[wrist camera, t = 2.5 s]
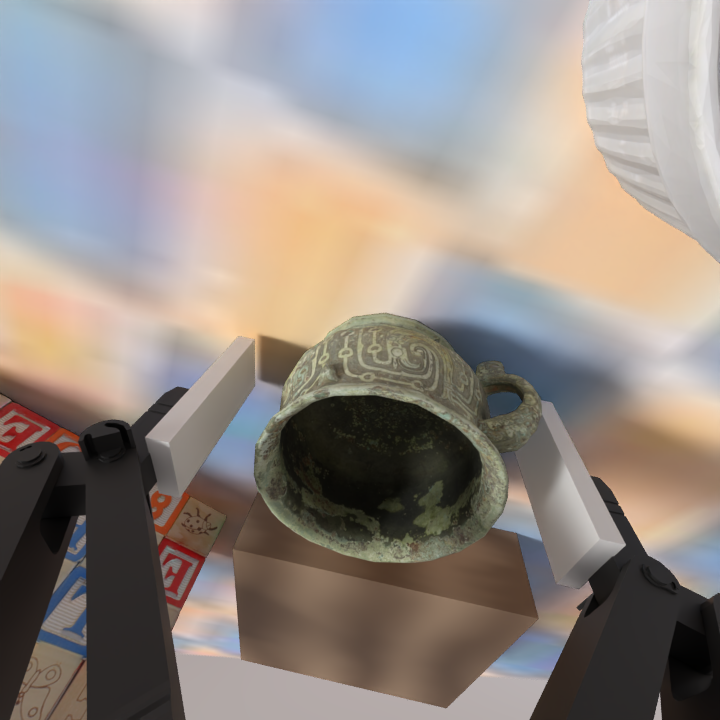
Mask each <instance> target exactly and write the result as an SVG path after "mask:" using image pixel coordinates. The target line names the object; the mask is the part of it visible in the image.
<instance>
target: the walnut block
mask: <svg viewBox="0 0 720 720" xmlns="http://www.w3.org/2000/svg"><path fill="white" fill-rule="evenodd" d="M232 550H233V563H234V576H235V588H236V601H237V614H238V626H239V639H240V652H241V660H245V661H249V662H253V663H258V664H262V665H266V666H270V667H274V668H279V669H283V670H287V671H292V672H295V673H300V674H304V675H308V676H313V677H317V678H321V679H325V680H329V681H334V682H338V683H342V684H346V685H350V686H354V687H359V688H363V689H367V690H372V691H376V692H380V693H384V694H389V695H393V696H397V697H401V698H406V699H409V700H414V701H418V702H422V703H426V704H431V705H435V706H439V707H443V708H447V707H448V706H449V705H450V704H451V703H452V702H453V701H454V700H455V699H456V698H457V697H458V696H459V695H460V694H462V693H463V692H464V691H465V690H466V689H467V688H468V687H469V686H470V685H471V684H472V683H473V682H474V681H475V680H476V679H477V678H478V677H479V676H480V675H481V674H482V673H483V672H484V671H485V670H486V669H487V668H488V667H489V666H490V665H491V664H492V663H493V662H494V661H496V660H497V659H498V658H499V657H500V656H501V655H502V654H503V653H504V652H505V651H506V650H507V649H508V648H509V647H510V646H511V645H512V644H513V643H514V642H515V641H516V640H517V639H518V638H519V637H520V636H521V635H522V634H523V633H524V632H525V631H526V630H527V629H528V628H529V627H531V626H532V625H533V624H534V623H535V622H536V621H537V620H538V615H537V611H536V607H535V603H534V599H533V595H532V592H531V588H530V584H529V580H528V576H527V572H526V568H525V564H524V561H523V557H522V553H521V549H520V545H519V541H518V537H517V533H514V532H509V531H505V530H500V529H496V528H490V530H489V531H488V532H487V534H486V535H485V536H484V537H483V538H481V539H480V540H478V541H476V542H475V543H473V544H472V545H470V546H468V547H467V548H465V549H463V550H462V551H460V552H457V553H454V554H451V555H448V556H445V557H441V558H438V559H435V560H432V561H425V562H416V563H393V562H372V561H368V560H364V559H360V558H355V557H351V556H347V555H343V554H340V553H338V552H335V551H333V550H331V549H328V548H326V547H323V546H321V545H318V544H316V543H313V542H311V541H309V540H307V539H305V538H304V537H302V536H300V535H299V534H297V533H295V532H294V531H292V530H291V529H290V528H289V527H287V526H286V525H285V524H283V523H282V522H281V521H280V520H279V519H278V518H277V517H276V516H275V515H274V514H273V513H272V512H271V510H270V509H269V507H268V506H267V504H266V503H265V501H264V499H263V497H262V495H261V494H260V492H259V491H258V493H257V496H256V498H255V500H254V502H253V505H252V507H251V509H250V511H249V513H248V516H247V518H246V520H245V522H244V524H243V527H242V529H241V531H240V533H239V536H238V538H237V540H236V542H235V544H234V547H233V549H232Z"/></svg>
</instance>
